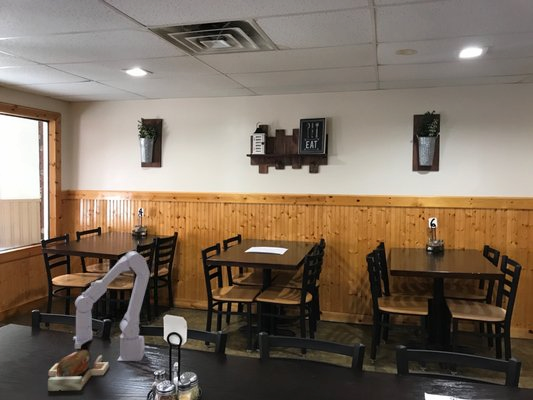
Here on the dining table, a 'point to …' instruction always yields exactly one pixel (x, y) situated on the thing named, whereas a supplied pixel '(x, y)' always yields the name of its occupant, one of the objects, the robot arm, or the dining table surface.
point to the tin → (74, 364)
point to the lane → (70, 380)
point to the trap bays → (99, 370)
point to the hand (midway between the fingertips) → (84, 359)
